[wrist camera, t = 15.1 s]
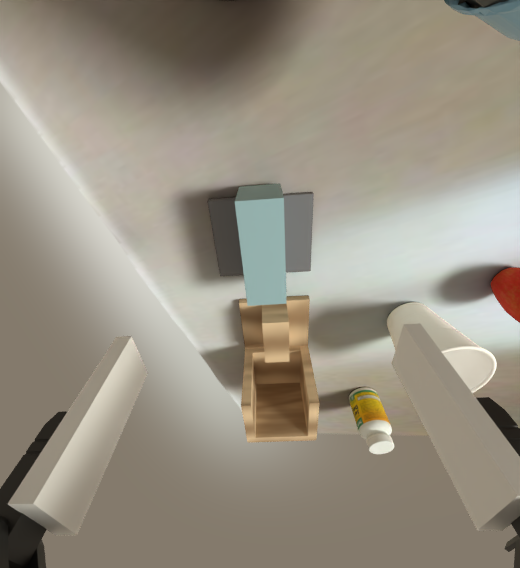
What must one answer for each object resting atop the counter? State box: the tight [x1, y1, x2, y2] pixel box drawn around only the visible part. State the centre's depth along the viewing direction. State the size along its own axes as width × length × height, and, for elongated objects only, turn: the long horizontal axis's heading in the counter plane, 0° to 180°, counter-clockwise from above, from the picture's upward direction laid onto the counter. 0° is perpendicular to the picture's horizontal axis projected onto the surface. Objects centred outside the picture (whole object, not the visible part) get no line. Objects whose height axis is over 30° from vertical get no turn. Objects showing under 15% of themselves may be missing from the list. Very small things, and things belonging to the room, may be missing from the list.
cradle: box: [239, 296, 319, 442], centre depth 38 cm, size 18×10×11 cm, turn 4°
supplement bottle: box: [349, 387, 394, 454], centre depth 46 cm, size 5×5×10 cm
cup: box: [387, 302, 496, 393], centre depth 36 cm, size 10×10×11 cm
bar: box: [235, 184, 286, 306], centre depth 30 cm, size 12×4×6 cm, turn 4°
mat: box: [208, 192, 313, 276], centre depth 33 cm, size 10×12×1 cm
